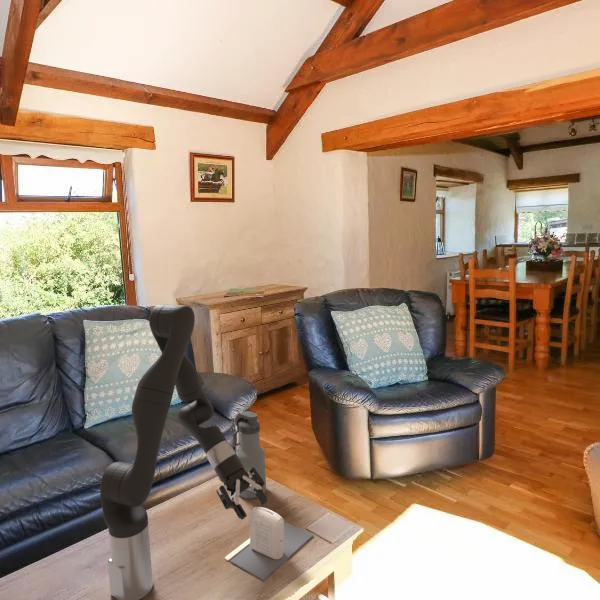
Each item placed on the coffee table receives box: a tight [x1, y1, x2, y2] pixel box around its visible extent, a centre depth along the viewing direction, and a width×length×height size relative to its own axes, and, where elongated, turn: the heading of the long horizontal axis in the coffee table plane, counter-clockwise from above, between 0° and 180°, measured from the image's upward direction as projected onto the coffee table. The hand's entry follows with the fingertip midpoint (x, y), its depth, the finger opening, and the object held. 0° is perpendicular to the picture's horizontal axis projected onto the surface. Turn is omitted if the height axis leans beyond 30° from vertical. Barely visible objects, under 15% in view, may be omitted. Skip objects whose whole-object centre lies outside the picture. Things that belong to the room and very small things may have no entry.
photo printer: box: [248, 506, 285, 559], centre depth 132 cm, size 10×4×12 cm, turn 57°
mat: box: [224, 520, 314, 582], centre depth 135 cm, size 22×14×1 cm, turn 143°
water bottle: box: [232, 410, 267, 500], centre depth 161 cm, size 10×10×28 cm
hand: (255, 510), depth 134 cm, fingers open, 8 cm apart
